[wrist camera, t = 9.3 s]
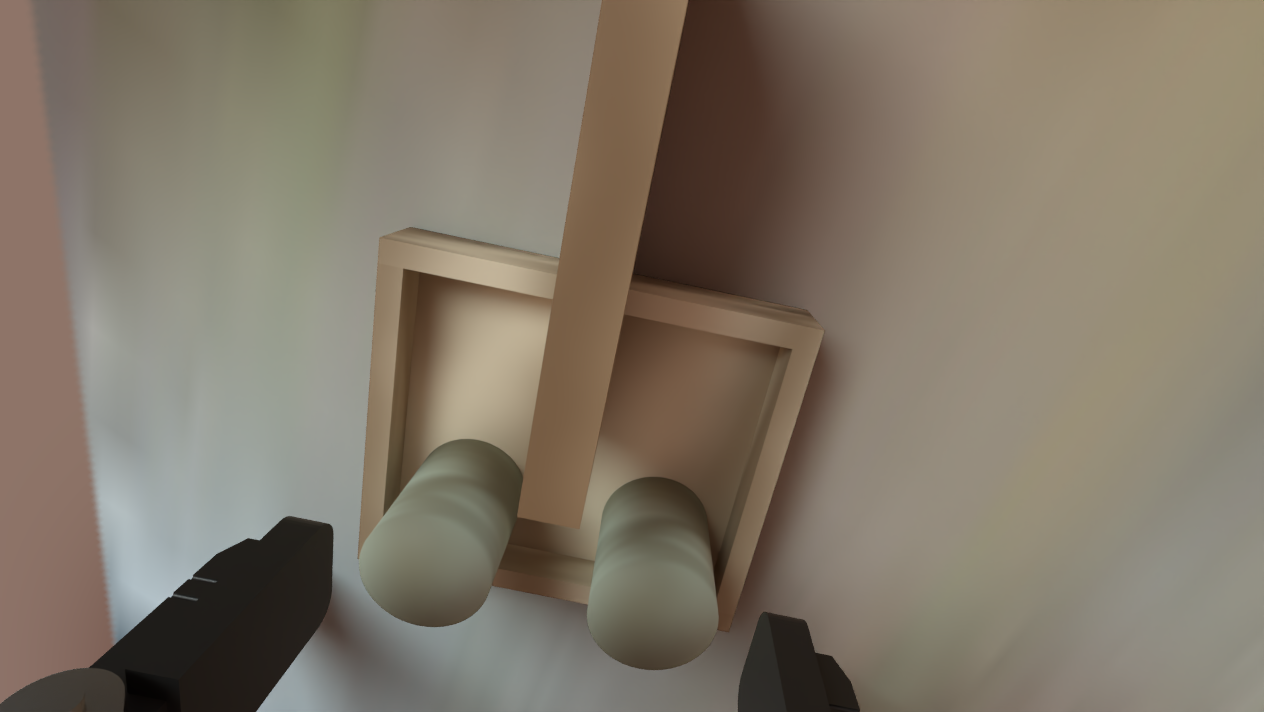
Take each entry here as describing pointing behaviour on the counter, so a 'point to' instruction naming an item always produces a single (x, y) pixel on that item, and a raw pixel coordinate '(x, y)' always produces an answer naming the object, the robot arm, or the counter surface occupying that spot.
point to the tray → (577, 401)
